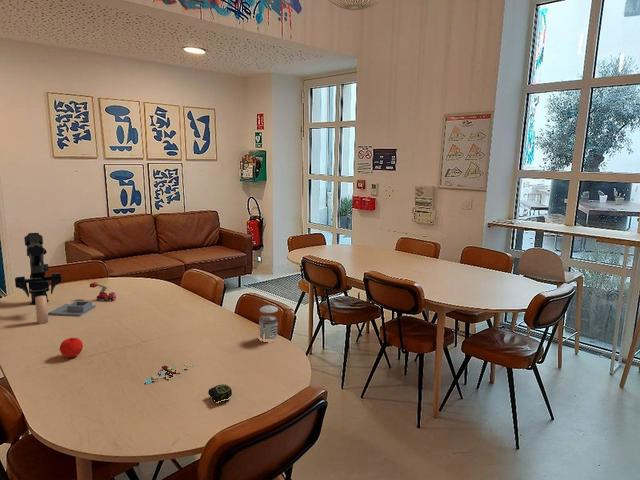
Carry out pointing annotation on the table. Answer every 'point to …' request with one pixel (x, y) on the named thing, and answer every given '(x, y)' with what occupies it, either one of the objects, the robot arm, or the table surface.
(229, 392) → the tape measure
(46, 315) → the peg
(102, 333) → the table surface
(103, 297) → the toy fire truck
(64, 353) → the apple
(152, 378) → the gear mechanism
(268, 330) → the french press
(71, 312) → the jig cradle
